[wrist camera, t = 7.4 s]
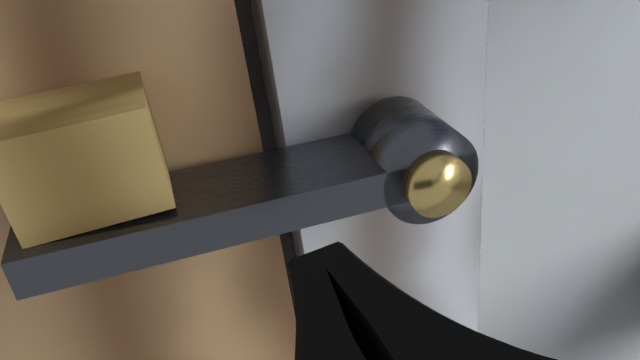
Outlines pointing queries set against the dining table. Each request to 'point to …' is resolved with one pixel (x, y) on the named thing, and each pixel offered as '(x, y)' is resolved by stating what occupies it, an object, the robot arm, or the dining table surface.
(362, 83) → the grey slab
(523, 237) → the dining table surface
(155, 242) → the lock bar
